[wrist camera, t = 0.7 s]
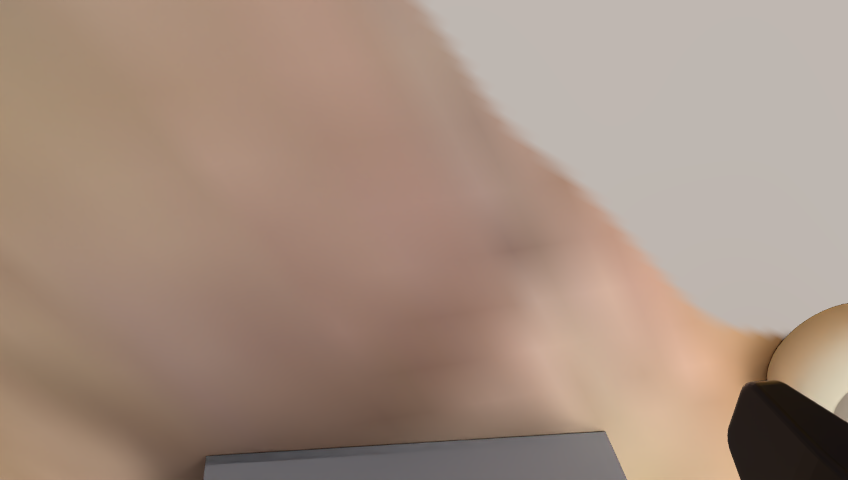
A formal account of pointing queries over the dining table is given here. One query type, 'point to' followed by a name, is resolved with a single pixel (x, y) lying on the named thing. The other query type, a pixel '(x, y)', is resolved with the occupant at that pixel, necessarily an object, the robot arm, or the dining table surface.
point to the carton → (434, 461)
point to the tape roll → (817, 360)
